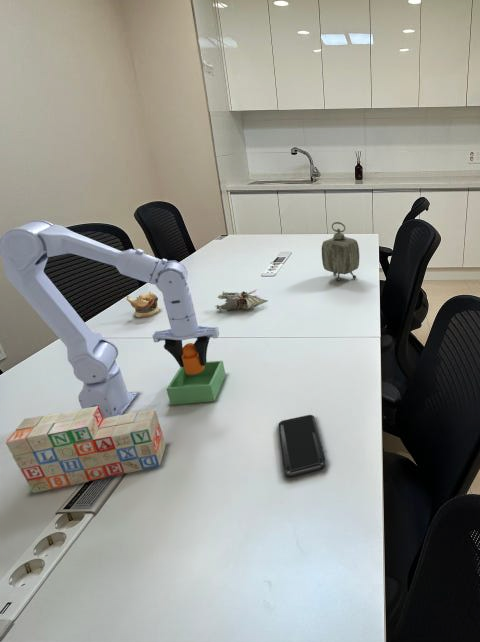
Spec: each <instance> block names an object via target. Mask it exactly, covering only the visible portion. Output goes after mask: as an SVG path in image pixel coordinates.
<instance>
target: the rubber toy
mask: <svg viewBox="0 0 480 642" xmlns="http://www.w3.org/2000/svg"><path fill="white" fill-rule="evenodd" d="M182 351H183V355H182V361H183V365H184V369H185V372H186V374H189V375H193V374H198V373H200V372H202V371H203V370H204V368H205V367H204V366H201V364H200V359H199V355H198V352H197V350H196V348H195V346H194V342H188V343H186V344H185V345H184V346H183V350H182Z"/></svg>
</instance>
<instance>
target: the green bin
mask: <svg viewBox="0 0 480 642" xmlns="http://www.w3.org/2000/svg"><path fill="white" fill-rule="evenodd" d="M204 367H205V368H204V370H203V371H202V372H200V373H198V374H193V375H189V374H186V372H185V369H184V367H180V366H179V369H178V370H177V371H176V373H175V374H174V376H173V378H172V379H171V381H170V382H169V384H168V386H167V387H166V393H167V396H168V401H169V403H170V406H172V405H173V406H174V405H184V404H197V403H209V402H210V403H211V402H215V401H216V399H217V396H218V394H219V392H220V390H221V387H222V385H223V383H224V381H225V378H226V375H227V374H226V370H225V369H226V368H225V365H224V361H223V360H212V361H207V362H206V363H205V365H204Z"/></svg>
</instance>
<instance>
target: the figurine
mask: <svg viewBox="0 0 480 642" xmlns="http://www.w3.org/2000/svg"><path fill="white" fill-rule="evenodd" d="M257 290H258V289H257V288H256V289H254V290H252V291H250V292H247V291H245V290H244V291H241V292H228V291H226V292H225V291H222V294H218V296H217V298H218V299H219V300H224V302H225V303H223V304H221V305H219V304H218V303H217V305H214V307H215V308H216V310H219V311H222V310H224V311H225V310H226V311H231V310H233V309H234V310H235V309H237V310H239V309H243V310H246V311H247V310H249V309H254V308H256V307H258V306H261V305H263V304H264V303H266V302H268V301H269V300H268V299H267V300H266V299H263V298H260V297H258V296H257V295H256V294H254V293H256V291H257ZM251 294H254V295H251Z"/></svg>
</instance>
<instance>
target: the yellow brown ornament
mask: <svg viewBox="0 0 480 642" xmlns="http://www.w3.org/2000/svg"><path fill="white" fill-rule="evenodd" d="M158 300H159V298H158V296H157V295H156V294H154V293H153V292H151V291H149V292H147V293H145V294H144V293H142V294H139V295H138V296H137V297H136V299H132V298H131V297H130V296H129V295H126V301H128V302H129V304H130V305H131V307H132V308H133V309H134V316H135V318H138V319H139V318H149V317H151V316H153V315H156V314H157V313H159V312H160V309H159V307H158ZM152 309H153V310H152ZM146 310H151V311H148V312H143V313H142V311H146Z"/></svg>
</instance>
